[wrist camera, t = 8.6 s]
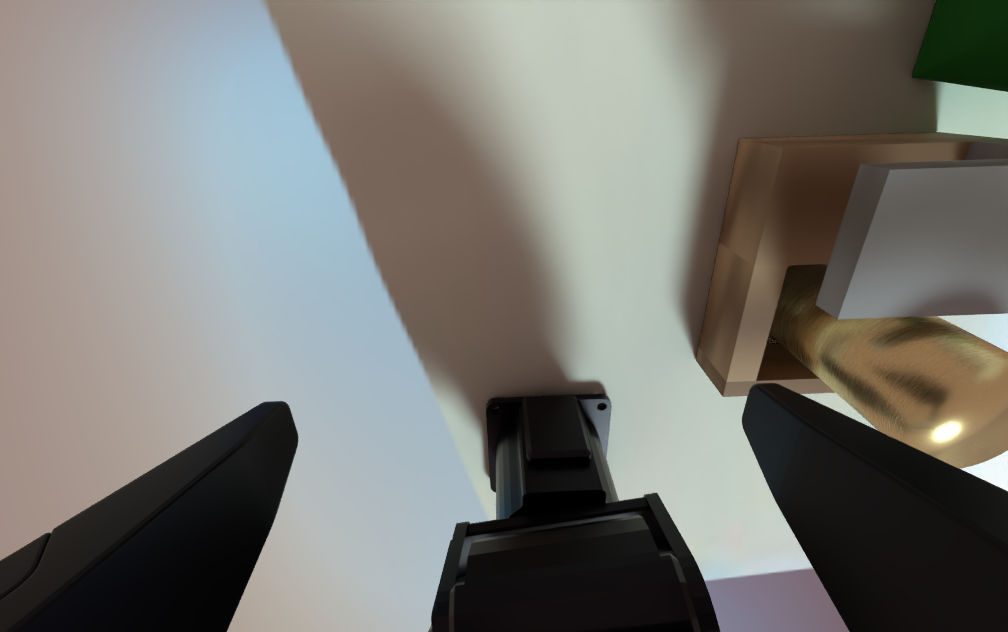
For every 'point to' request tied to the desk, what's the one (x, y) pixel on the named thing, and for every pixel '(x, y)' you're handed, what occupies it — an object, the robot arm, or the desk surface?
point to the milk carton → (966, 44)
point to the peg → (901, 372)
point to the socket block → (853, 240)
